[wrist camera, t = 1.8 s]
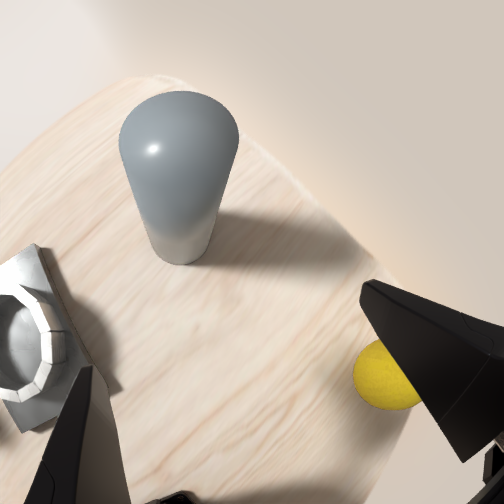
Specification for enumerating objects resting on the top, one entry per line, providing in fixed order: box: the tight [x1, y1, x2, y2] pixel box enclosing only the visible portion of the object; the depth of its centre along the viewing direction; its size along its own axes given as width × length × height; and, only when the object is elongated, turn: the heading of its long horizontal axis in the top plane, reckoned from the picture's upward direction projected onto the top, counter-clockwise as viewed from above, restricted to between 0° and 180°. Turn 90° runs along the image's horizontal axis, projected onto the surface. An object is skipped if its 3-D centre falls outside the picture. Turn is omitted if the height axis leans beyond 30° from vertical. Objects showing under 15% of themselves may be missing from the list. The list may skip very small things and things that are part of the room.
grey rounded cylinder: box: [119, 91, 239, 265], centre depth 17 cm, size 4×4×13 cm
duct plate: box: [0, 243, 108, 433], centre depth 17 cm, size 12×9×4 cm
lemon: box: [353, 339, 422, 410], centre depth 20 cm, size 6×6×8 cm
